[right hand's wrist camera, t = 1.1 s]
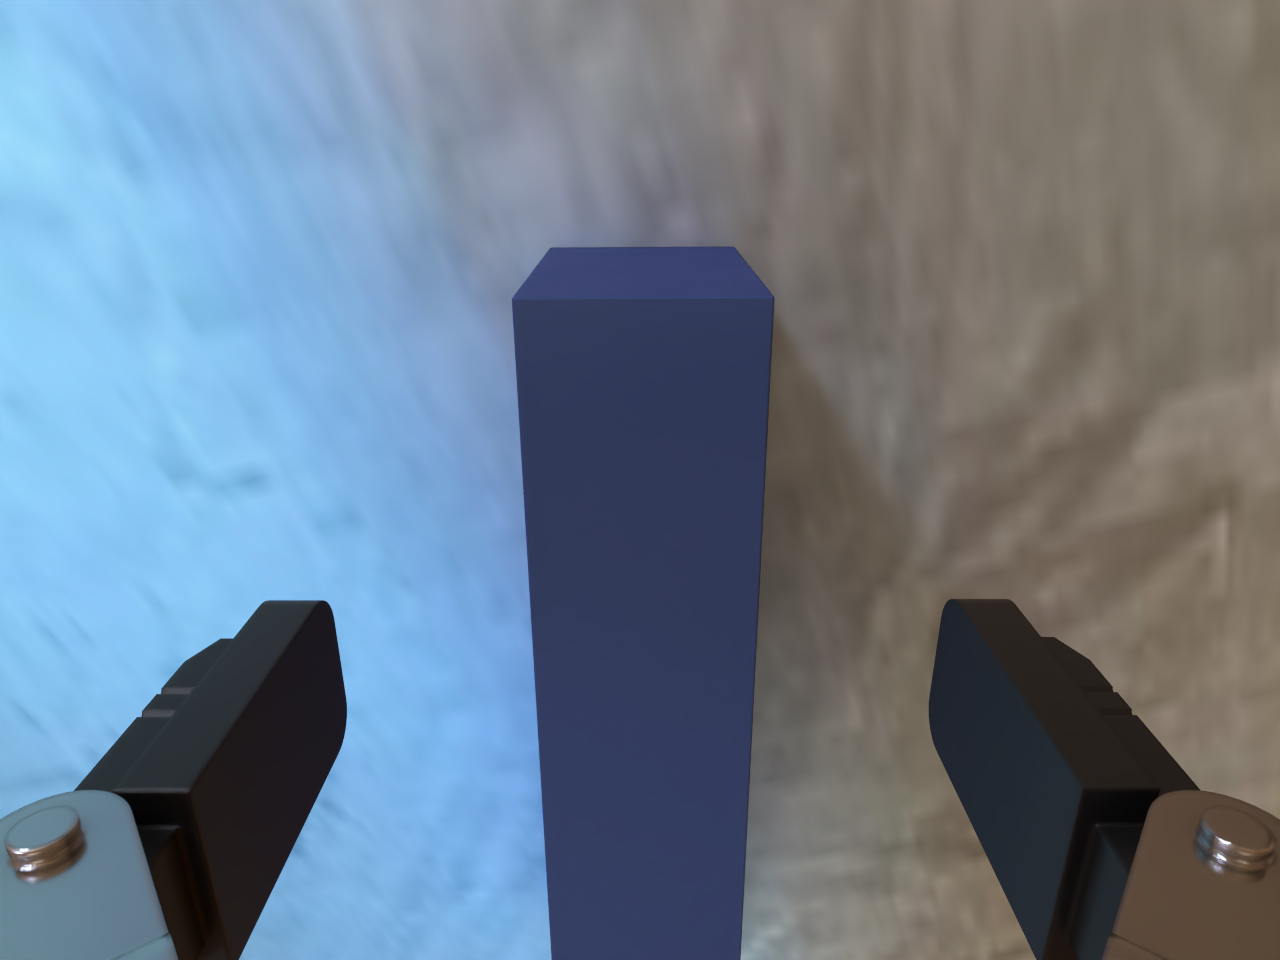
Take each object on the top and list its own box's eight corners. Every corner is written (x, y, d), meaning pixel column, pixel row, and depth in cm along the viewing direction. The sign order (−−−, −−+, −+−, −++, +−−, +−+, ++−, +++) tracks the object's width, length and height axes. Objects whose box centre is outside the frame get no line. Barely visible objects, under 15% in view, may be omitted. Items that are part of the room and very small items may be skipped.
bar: (549, 247, 26) (511, 297, 18) (734, 246, 26) (775, 295, 18) (578, 915, 36) (561, 1130, 28) (712, 914, 36) (731, 1129, 28)
